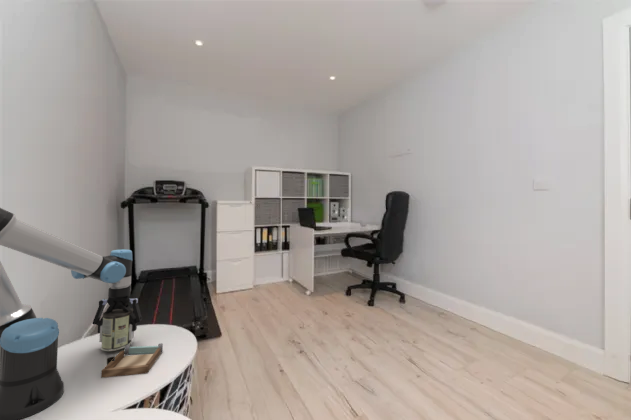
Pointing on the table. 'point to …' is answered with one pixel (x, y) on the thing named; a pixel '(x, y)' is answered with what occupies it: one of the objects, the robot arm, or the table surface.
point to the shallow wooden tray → (130, 364)
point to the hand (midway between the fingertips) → (116, 339)
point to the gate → (142, 349)
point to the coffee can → (116, 330)
